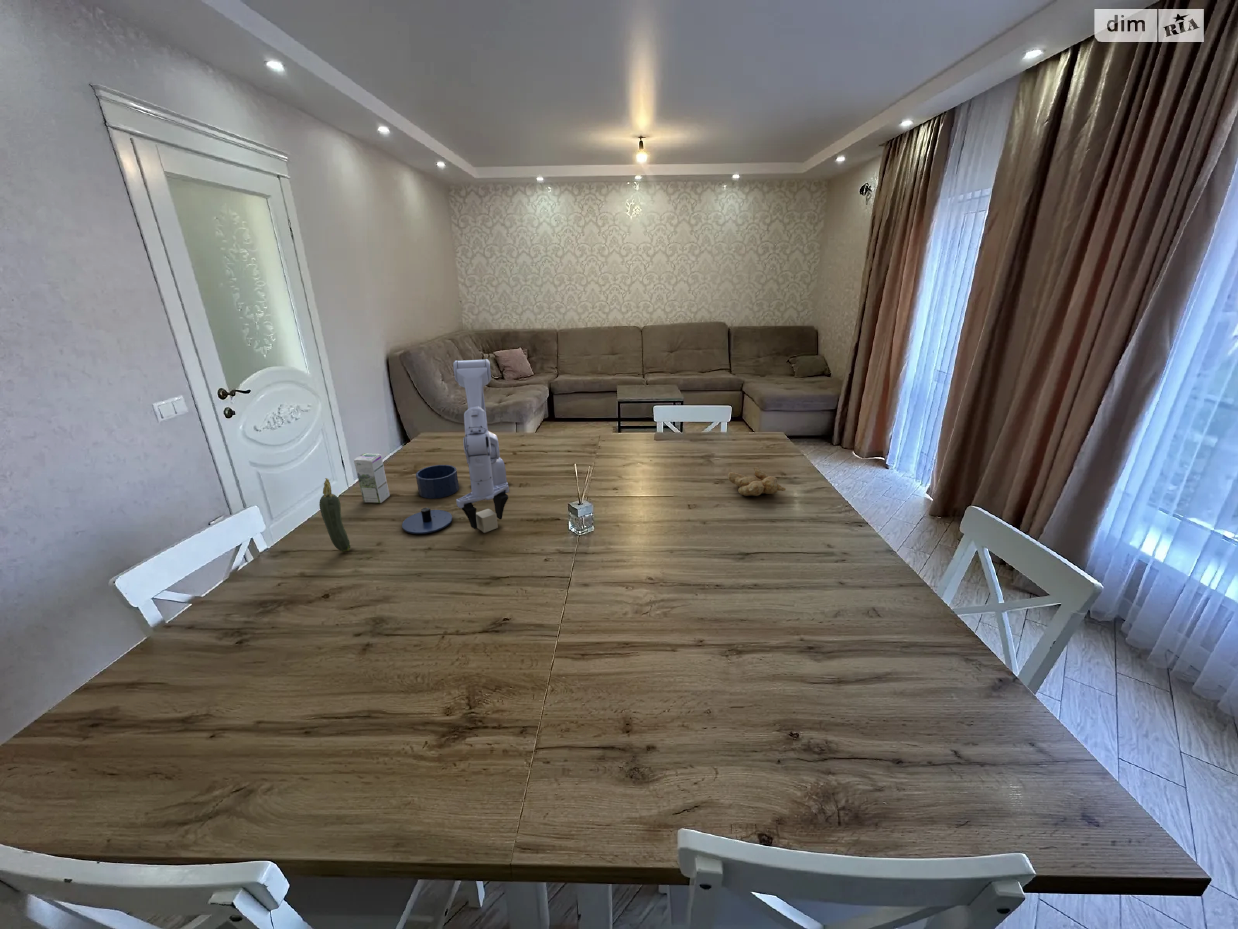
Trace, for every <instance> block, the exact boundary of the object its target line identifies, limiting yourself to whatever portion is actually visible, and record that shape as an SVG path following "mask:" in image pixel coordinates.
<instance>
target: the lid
mask: <svg viewBox="0 0 1238 929" xmlns="http://www.w3.org/2000/svg"><path fill="white" fill-rule="evenodd" d="M452 521H453V515H452V514H451V513H450V512H449V511H446V510H444V509H443V510H442V509H431V507H423V508H421V509H420V511H419V512H416V513H414V514H411V515H410V516H407V517H406V518H405V519H404V520H403V521H402V524H401V528H402V530H403V531H404V532H406V533H408V534H414V535H424V534H431V533H436V532H438V531H440V530H443V529H444V528H446V527H448V526H449V525H450V524H452Z"/></svg>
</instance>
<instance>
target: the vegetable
mask: <svg viewBox="0 0 1238 929" xmlns="http://www.w3.org/2000/svg"><path fill="white" fill-rule="evenodd" d="M324 479H325V481H324V482H323V488H322V494H323V495H322V496H321V497H320V499H319V502H318V503H319V505H318V506H319V510H320V515H321V518H322V519H323V523H324V526H325V527H326V531H327V533H328V536H329V538H330V540H331V543H332V544H333V546H334V547H335V548H336V549H337V550H338V551H340V552H343V553H345V552H347V551H350V549H351V542H350V538H349V537H348V536H349V535H348V534H347V531H346V529H345V526H344V524H343V519H342V509H341V508H342V506H341V500H340V499H339V497H338V496H337V495H336V494H335V493H332V485H331V482H330V479H329V478H327V477H325V478H324Z"/></svg>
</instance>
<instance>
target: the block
mask: <svg viewBox="0 0 1238 929" xmlns="http://www.w3.org/2000/svg"><path fill="white" fill-rule="evenodd" d="M476 522H477V528H476V529H478V530H479V531H481V532H482V533H484V534H486V533H489V532H490V531H493V530H495V529H498V528H499V524H498V518H497V515H496V513H495V510H492V509H490V508H485V509H483V510H480V511H476Z"/></svg>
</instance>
